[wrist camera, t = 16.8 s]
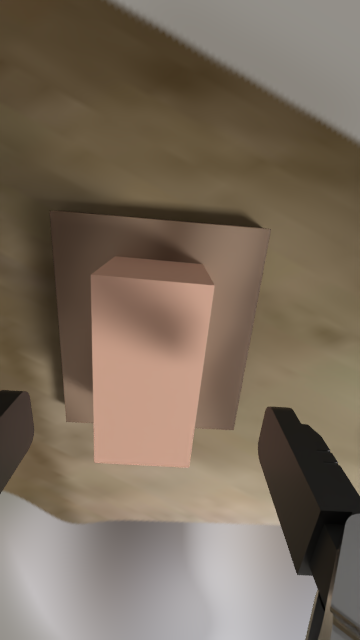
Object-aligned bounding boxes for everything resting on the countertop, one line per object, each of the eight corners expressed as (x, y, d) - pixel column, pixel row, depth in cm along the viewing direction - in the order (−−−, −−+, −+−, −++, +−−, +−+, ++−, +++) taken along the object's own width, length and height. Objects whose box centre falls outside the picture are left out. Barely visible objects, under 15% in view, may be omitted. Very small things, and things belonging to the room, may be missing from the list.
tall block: (185, 407, 20) (202, 264, 16) (188, 467, 15) (214, 285, 11) (113, 402, 19) (115, 256, 16) (94, 462, 15) (90, 274, 11)
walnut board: (263, 227, 17) (270, 229, 16) (229, 416, 22) (233, 430, 20) (60, 210, 16) (49, 210, 15) (73, 408, 21) (66, 421, 20)
